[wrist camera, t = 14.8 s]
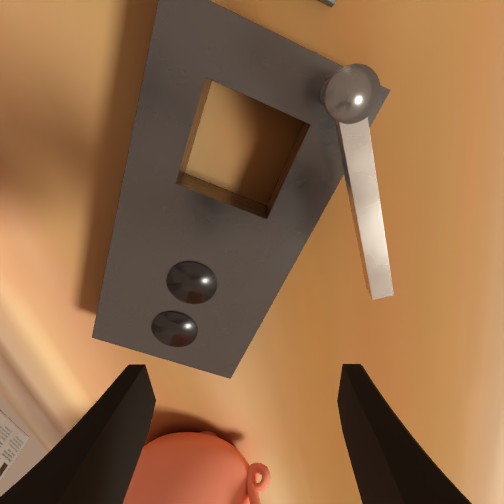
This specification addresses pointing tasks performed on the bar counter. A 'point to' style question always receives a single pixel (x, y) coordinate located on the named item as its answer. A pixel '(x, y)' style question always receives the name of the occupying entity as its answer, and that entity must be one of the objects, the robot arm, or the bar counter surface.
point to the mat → (328, 2)
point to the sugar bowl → (194, 472)
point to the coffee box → (9, 442)
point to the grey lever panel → (212, 192)
